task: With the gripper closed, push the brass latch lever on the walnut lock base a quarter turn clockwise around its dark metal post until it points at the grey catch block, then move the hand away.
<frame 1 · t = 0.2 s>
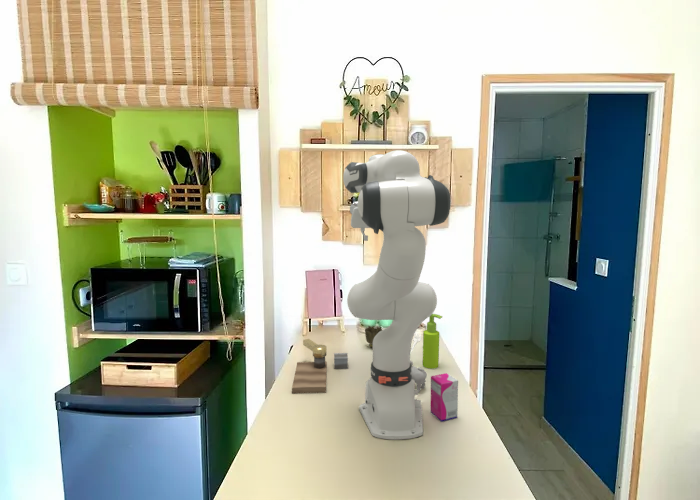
hand: (378, 240, 144), 48 cm above the table, tool pointing down, fingers open, 8 cm apart
fork: (414, 345, 173), on the table
latch lever: (314, 347, 149), point 8 cm above the table, hinge at 0.0°
lock base: (310, 379, 140), on the table
soap dispenser: (431, 366, 151), on the table
pig figurine: (408, 387, 135), on the table
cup: (373, 347, 170), on the table
supplement box: (443, 415, 117), on the table
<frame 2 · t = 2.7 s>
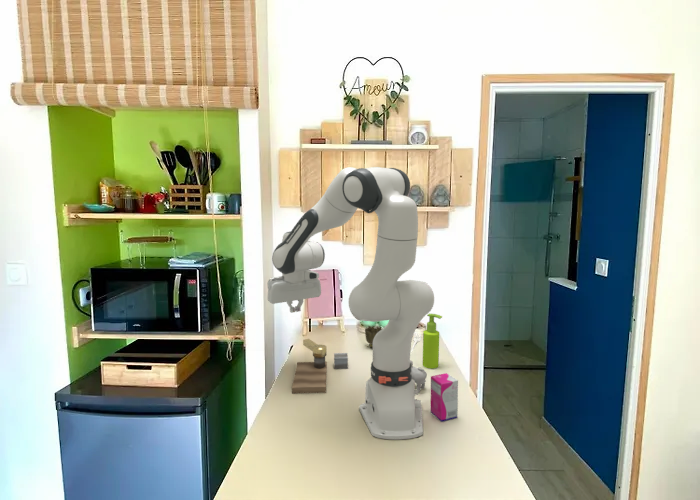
hand: (295, 311, 148), 21 cm above the table, tool pointing down, fingers closed
nothing on the table moved.
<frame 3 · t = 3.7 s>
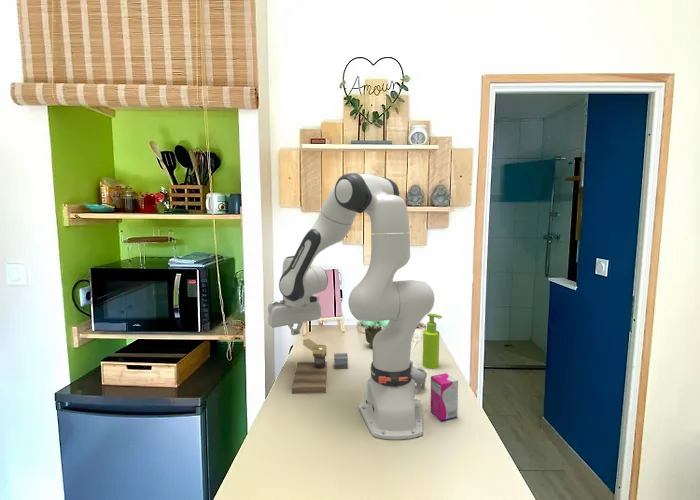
hand: (295, 334, 150), 12 cm above the table, tool pointing down, fingers closed
nothing on the table moved.
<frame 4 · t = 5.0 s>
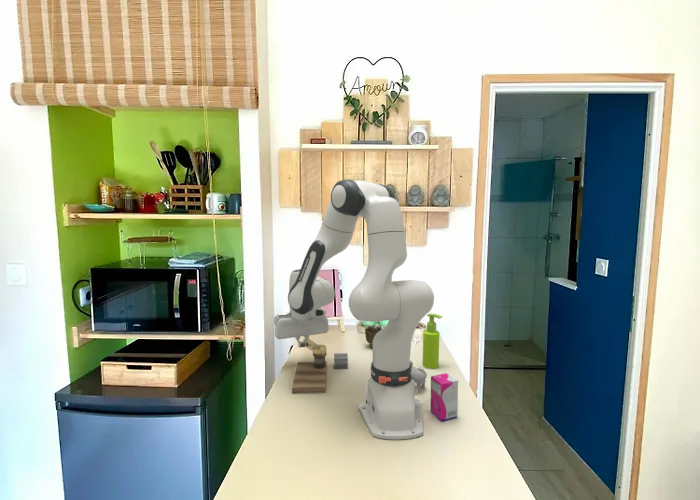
hand: (302, 346, 151), 7 cm above the table, tool pointing down, fingers closed
latch lever: (314, 347, 149), point 8 cm above the table, hinge at 0.1°, touching gripper
everything else where it was.
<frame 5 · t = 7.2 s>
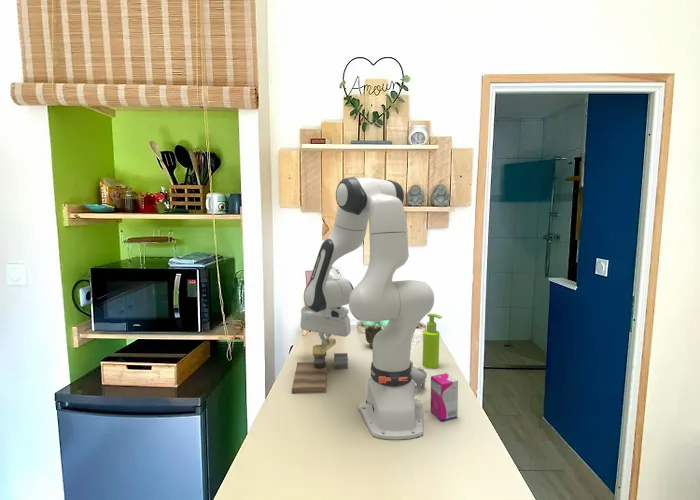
hand: (325, 343, 154), 7 cm above the table, tool pointing down, fingers closed
latch lever: (324, 347, 149), point 8 cm above the table, hinge at 56.2°, touching gripper
everything else where it was.
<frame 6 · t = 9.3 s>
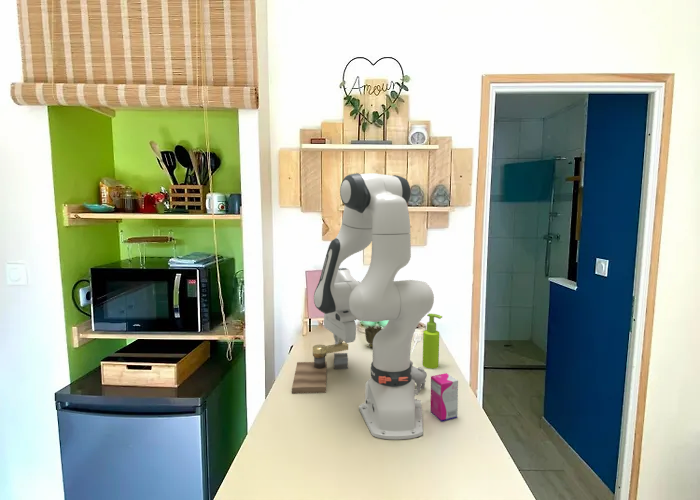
hand: (338, 346, 151), 7 cm above the table, tool pointing down, fingers closed
latch lever: (330, 349, 147), point 8 cm above the table, hinge at 96.4°, touching gripper
everything else where it was.
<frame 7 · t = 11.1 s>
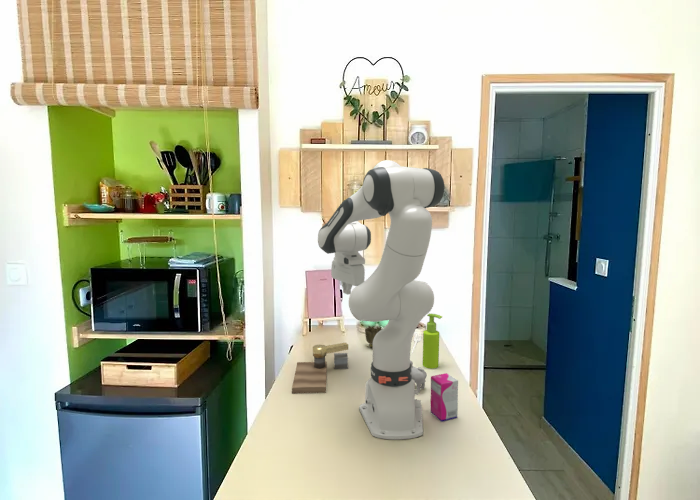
hand: (346, 293, 151), 27 cm above the table, tool pointing down, fingers closed
latch lever: (330, 349, 147), point 8 cm above the table, hinge at 96.5°
everything else where it was.
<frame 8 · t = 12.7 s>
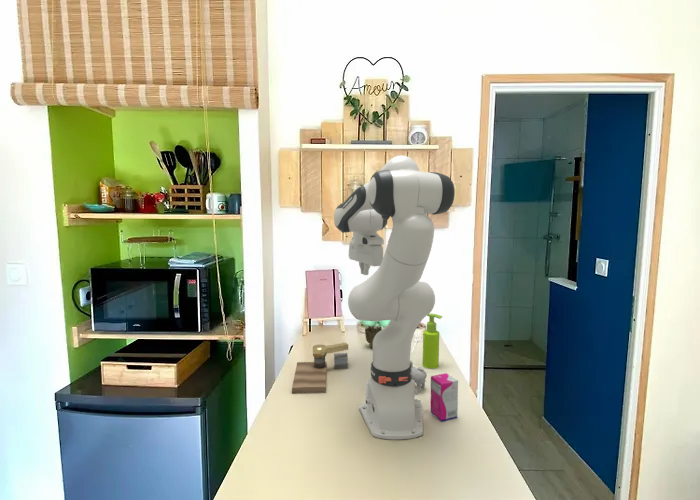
hand: (364, 274, 151), 34 cm above the table, tool pointing down, fingers closed
nothing on the table moved.
at the end: latch lever at +96° (first picture: +0°); the gripper is holding nothing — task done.
